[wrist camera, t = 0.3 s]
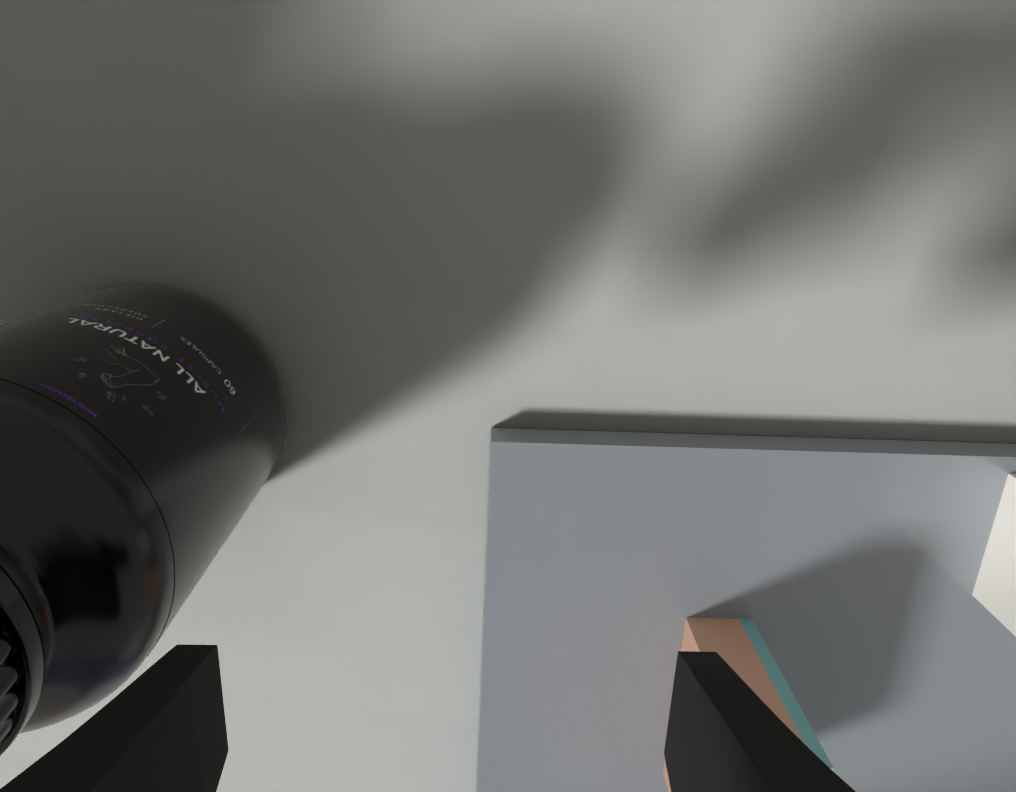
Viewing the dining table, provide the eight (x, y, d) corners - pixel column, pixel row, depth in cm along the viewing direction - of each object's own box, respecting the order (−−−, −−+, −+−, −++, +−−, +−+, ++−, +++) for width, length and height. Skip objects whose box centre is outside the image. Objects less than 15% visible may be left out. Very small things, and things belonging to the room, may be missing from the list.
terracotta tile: (723, 773, 24) (788, 949, 19) (662, 773, 24) (711, 948, 19) (752, 619, 22) (833, 767, 17) (685, 617, 22) (747, 767, 17)
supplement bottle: (270, 270, 19) (-33, 468, 8) (306, 504, 22) (110, 915, 10) (4, 283, 19) (-685, 503, 8) (69, 517, 21) (-393, 946, 10)
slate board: (974, 828, 27) (992, 853, 26) (475, 824, 26) (474, 850, 25) (1106, 446, 22) (1134, 460, 21) (490, 427, 21) (491, 442, 20)
